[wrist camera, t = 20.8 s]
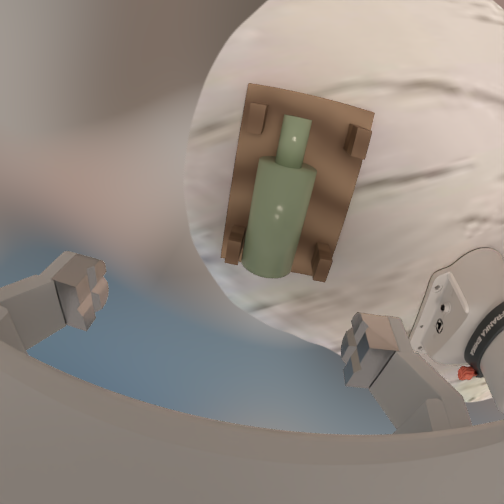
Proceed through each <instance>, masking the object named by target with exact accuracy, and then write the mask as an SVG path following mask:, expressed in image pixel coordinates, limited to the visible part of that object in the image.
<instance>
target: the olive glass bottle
mask: <svg viewBox="0 0 504 504" xmlns="http://www.w3.org/2000/svg"><path fill="white" fill-rule="evenodd" d="M311 124H312V120H310V119H307V118H303V117H299V116H294V115H288V114H284V118H283V123H282V128H281V133H280V138H279V143H278V148H277V153H276V156H263V157H260V158H259V163H258V168H257V174H256V179H255V185H254V190H253V196H252V201H251V207H250V213H249V218H248V224H247V229H246V235H245V241H244V246H243V252H242V258H241V262H242V264H243V266H244V267H245V268H246V269H247V270H248V271H250V272H251V273H253V274H255V275H258V276H261V277H265V278H281V277H284V276H286V275H288V274H289V273H290V271H291V269H292V265H293V262H294V258H295V254H296V251H297V247H298V243H299V240H300V236H301V232H302V229H303V225H304V221H305V217H306V213H307V210H308V206H309V202H310V198H311V194H312V190H313V186H314V182H315V178H316V174H317V170H316V169H315V168H314V167H312V166H310V165H308V164H306V163H303V160H304V155H305V151H306V146H307V142H308V137H309V133H310V128H311Z"/></svg>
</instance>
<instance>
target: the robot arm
mask: <svg viewBox="0 0 504 504" xmlns="http://www.w3.org/2000/svg"><path fill="white" fill-rule="evenodd" d="M105 273H106V266H105V263H104V262H103V261H102V260H98V259H95V258H92V257H88V256H84V255H81V254H77V253H73V252H69V251H66V252H63V253H62V254H61V255H60V256H59V257H58V258H57V259H56V260H55V261H54V262H53V263H52V264H51V265H50V266H48V267H47V268H46V269H45V270H44V271H43V272H42V273H41V274H40V275H34V276H31V277H28V278H25V279H23V280H20V281H17V282H15V283H12V284H9V285H7V286H4V287H1V288H0V504H504V419H503V420H499V421H495V422H490V423H485V424H480V425H474V426H472V423H471V420H470V417H469V413H468V410H467V408H466V405H465V402H464V399H463V396H462V395H461V394H460V393H459V392H458V391H457V390H456V389H455V388H453V387H452V386H451V385H450V384H449V383H448V382H447V381H446V380H445V379H444V378H443V377H442V376H441V375H440V374H439V373H438V372H437V371H436V370H435V369H434V368H433V367H432V366H431V365H430V364H428V363H427V362H426V361H425V360H424V359H423V358H422V357H421V356H420V355H419V354H418V353H422V354H426V355H428V356H429V357H430V358H431V359H432V360H433V361H434V362H436V363H439V364H442V365H449V366H458V365H470V366H469V367H466V366H462V367H461V368H460V369H459V371H458V378H459V380H466V379H467V380H470V379H472V377H473V376H476V377H484V378H485V380H486V383H487V385H488V387H489V390H490V392H491V395H492V397H493V399H494V402H495V404H496V407H497V409H498V410H499V411H500V412H501V413H503V414H504V260H503V257H502V256H501V254H500V253H499V252H498V251H496V250H494V249H491V248H480V249H476V250H474V251H471V252H469V253H468V254H466V255H464V256H463V257H461V258H460V259H459V260H458V261H456V262H455V263H454V264H453V265H451V266H450V267H447V268H445V269H442V270H440V271H437V272H436V273H434V274H433V275H432V277H431V280H430V283H429V286H428V289H427V292H426V295H425V297H424V300H423V303H422V306H421V309H420V311H419V314H418V317H417V319H416V322H415V324H414V327H413V329H412V332H411V334H410V337H409V339H408V336H407V333H406V331H405V328H404V325H403V323H402V320H401V319H400V318H399V317H393V316H381V315H374V314H367V313H360V312H357V313H356V314H355V315H354V317H353V319H352V321H351V322H352V328H351V329H349V330H348V331H346V333H345V335H344V338H343V341H342V345H341V358H342V360H343V361H344V362H345V363H346V366H345V367H344V369H343V372H344V380H345V386H349V387H359V388H369V390H370V392H371V394H372V395H373V396H374V398H375V399H376V401H377V402H378V403H379V405H380V406H381V408H382V409H383V411H384V412H385V413H386V415H387V416H388V418H389V419H390V421H391V422H392V423H393V425H394V426H395V428H396V429H397V430H396V431H395V432H394V433H393V434H386V435H342V434H340V435H339V434H319V433H305V432H294V431H283V430H275V429H267V428H260V427H253V426H246V425H240V424H235V423H229V422H224V421H218V420H213V419H208V418H204V417H199V416H195V415H191V414H186V413H182V412H179V411H175V410H171V409H167V408H164V407H160V406H156V405H153V404H149V403H146V402H143V401H140V400H136V399H133V398H130V397H127V396H124V395H121V394H119V393H115V392H112V391H110V390H107V389H104V388H102V387H99V386H96V385H94V384H91V383H89V382H86V381H84V380H81V379H79V378H76V377H74V376H72V375H69V374H67V373H65V372H63V371H60V370H58V369H55V368H54V367H52V366H49V365H47V364H45V363H43V362H41V361H39V360H37V359H35V358H33V357H31V356H29V355H28V353H27V352H26V350H27V349H29V348H31V347H32V346H34V345H36V344H37V343H39V342H40V341H42V340H43V339H45V338H47V337H49V336H50V335H52V334H53V333H55V332H57V331H58V330H60V329H62V328H63V327H65V326H66V325H69V326H72V327H75V328H78V329H81V330H84V331H87V330H88V329H89V327H90V326H91V324H92V323H93V321H94V320H95V318H96V317H95V312H97V311H99V310H101V309H102V308H103V306H104V305H105V304H106V300H107V297H108V289H109V288H108V282H107V281H106V280H105V278H104V277H103V276H104V274H105ZM413 350H414V351H416V352H418V353H414V352H413Z"/></svg>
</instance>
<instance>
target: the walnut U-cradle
mask: <svg viewBox="0 0 504 504" xmlns="http://www.w3.org/2000/svg"><path fill="white" fill-rule="evenodd" d="M284 114H288V115H294V116H299V117H303V118H307V119H310V120H312V124H311V128H310V133H309V137H308V142H307V146H306V151H305V155H304V160H303V163H306V164H308V165H310V166H312V167H314V168H315V169H316V170H317V174H316V178H315V182H314V186H313V190H312V194H311V198H310V202H309V206H308V210H307V213H306V217H305V221H304V225H303V229H302V232H301V236H300V240H299V243H298V247H297V251H296V254H295V258H294V262H293V265H292V269H291V271H290V272H295V273H300V274H305V275H310V276H313V280H316V281H321V282H325V281H326V278H327V275H328V273H329V270H330V267H331V264H332V262H333V261H332V256H333V253H334V251H335V248H336V245H337V242H338V239H339V236H340V233H341V230H342V227H343V223H344V220H345V217H346V214H347V211H348V208H349V204H350V201H351V198H352V195H353V191H354V188H355V185H356V181H357V178H358V174H359V171H360V167H361V164H362V160H363V159H364V160H365V157H366V153H367V149H368V146H369V142H370V138H371V134H372V131H370V130H371V126H372V122H373V118H374V114H375V113H373V112H370V111H367V110H364V109H361V108H357V107H354V106H350V105H347V104H343V103H340V102H336V101H332V100H329V99H325V98H321V97H317V96H313V95H308V94H304V93H299V92H295V91H290V90H285V89H280V88H275V87H269V86H264V85H258V84H251V83H249V84H248V89H247V95H246V100H245V106H244V111H243V117H242V123H241V129H240V135H239V141H238V147H237V153H236V159H235V165H234V171H233V178H232V184H231V190H230V197H229V204H228V210H227V217H226V224H225V231H224V238H223V245H222V252H221V258H225V263H229V264H234V265H238V261H239V262H241V258H242V252H243V246H244V241H245V235H246V229H247V224H248V218H249V213H250V207H251V201H252V196H253V190H254V185H255V179H256V174H257V168H258V163H259V158H260V157H263V156H276V153H277V148H278V143H279V138H280V133H281V128H282V123H283V118H284Z"/></svg>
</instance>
